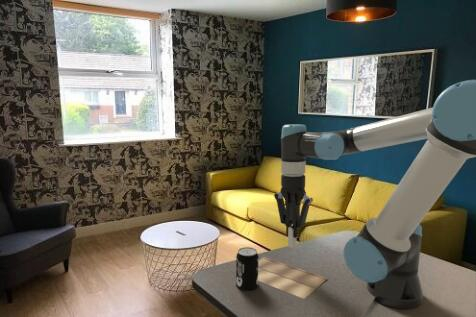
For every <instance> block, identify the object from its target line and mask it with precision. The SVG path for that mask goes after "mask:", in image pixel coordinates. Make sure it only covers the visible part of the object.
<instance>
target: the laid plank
mask: <svg viewBox="0 0 476 317" xmlns="http://www.w3.org/2000/svg"><path fill="white" fill-rule="evenodd" d="M258 282H260V283H263V284H265V285H268V286H270V287H272V288H276V289H278V290H281V291H283V292H285V293H288V294H289V295H293V296H296V297H297V298H300V299H303V300H305V299H307V297H309V296H310V295H311V294H312V293H314V292H315V291H316V290H317V289H316V288H313V287H310V286H307V285H305V284H302V283H299V282H296V281H294V280H291V279H288V278H286V277H283V276H280V275H277V274H275V273H272V272H269V271H266V270H264V269H261V268H258Z"/></svg>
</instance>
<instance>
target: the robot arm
mask: <svg viewBox="0 0 476 317" xmlns="http://www.w3.org/2000/svg"><path fill="white" fill-rule="evenodd" d="M280 136H281V137H280V145H281V146H280V148H281V159H280V160H281V162H280V173H281V176H280V186H281V187H280V191H279V192H277V193H274V195H273V197H274V200H275V201H276V205H277V211H278V215H279V220H280V223H281V224H283V225H285V229H286V230H285V235H286V236H287V237H288V238H287V247H288V248H291V249H294V248H295V247H296V246H297V238H299V237H300V230H299V229H300V228H302V227H304V226H306V221H307V218H308V213H309V210H310V205H311V204H312V203H313V201H314V198H313V197H309V196H308V195H307V192H306V175H305V174H306V164H307V163H306V162H307V161H306V159H307V158H314V159H320V160H324V161H328V160H329V161H330V160H333V161H335V160H338V159H339V158H340V157H341V156H346V155H353V154H357V153H361V152H365V151H370V150H375V149H380V148H381V149H382V148H385V147H390V146H396V145H401V144H406V143H412V142H418V141H421V140H426V141H425V143H424V145H423V146H422V148H421V150H420V151H419V153H418V154H417V155H416V156H415V158H414V160H413V161H412V163H411V165H410V166H409V167H408V169H407V171H406V172H405V174H404V175H403V177H402V178H401V179H400V181H399V183H398V184H397V186H396V187H395V189H394V190H393V192H392V193H391V195H390V197H389V199H388V200H387V201H386V203H385V204H384V205H383V208H382V209H381V211H379V214H377V216H376V217H371V218H368V219H367V220H366V222H365V224H364V225H363V226H362V228H361V229H360V231H359V233H358V234H357V235H356V236H353V237H351V238H350V239H349V240H348V241H347V242H345V244H344V246H343V259H344V260H345V265H346V266H347V268H348V269H349V271H350V272H351V273H352V275H353V276H355V277H356V278H357V279H358V280H361V281H362V282H366V289H367V292H369V294H370V295H371V296H373V297H374V299H373V300H374V301H375V302H378V303H380V304H382V305H384V306H387V307H390V308H395V309H404V310H405V309H406V310H407V309H408V310H410V309H416V308H417V307H419V306H421V305H422V303H423V298H424V292H423V289H422V284H421V280H420V276H419V266H420V259H421V258H420V256H421V248H422V247H421V246H422V237H423V234H422V233H423V227H422V225H421V224H420V223H422V221H423V219H424V218H425V217H426V215H427V214H428V213H429V212H430V211H431V208H432V207H433V206H434V205H435V203H437V200H438V199H439V197H441V195H442V194H443V192H444V191H445V190H446V189H447V187H448V186H449V184H451V181H452V180H453V179H454V178H455V176H456V175H457V174H458V172H459V171H460V169H461V168H462V167H463V165H464V164H465V162H466V161H467V160H469V159H471V158H476V79H468V80H464V81H460V82H456V83H454V84H452V85H450V86H448V87H447V88H446V89H444V90H443V91H442V92H441V93H439V95H438V96H437V98H436V99H435V101H434V104H433V106H432V107H429V108H426V109H422V110H418V111H413V112H411V113H406V114H403V115H399V116H395V117H390V118H386V119H383V120H379V121H375V122H371V123H367V124H364V125H359V126H356V127H351V128H347V129H344V130H343V129H342V130H337V131H336V130H334V131H324V132H313V131H312V132H311V131H308V130H307V125H305V124H293V123H291V124H284V125H283V126H282V128H281V135H280ZM302 203H303V204H302Z"/></svg>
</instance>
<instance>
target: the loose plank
mask: <svg viewBox="0 0 476 317" xmlns="http://www.w3.org/2000/svg"><path fill="white" fill-rule="evenodd" d="M258 268H260V269H263V270H265V271H268V272H271V273H274V274H276V275H279V276H282V277H284V278H287V279H290V280H293V281H295V282H298V283H301V284H304V285H306V286H309V287H312V288H314V289H316V290H317V289H318V288H319V287H321V286H322V284H324V283H325V282H326V281H327V280H328V278H327V277H324V276H321V275H318V274H314V273H313V272H309V271H306V270H303V269H301V268H297V267H295V266H291V265H289V264H287V263H283V262H281V261H277V260H274V259H271V258H268V257H265V256H262V257H261V258H259V259H258Z"/></svg>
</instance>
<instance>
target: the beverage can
mask: <svg viewBox="0 0 476 317" xmlns="http://www.w3.org/2000/svg"><path fill="white" fill-rule="evenodd" d="M259 257H260V256H259V254H258V250H257V249H256V248H254V247H247V246H246V247H241V248H239V249H237V254H236V259H235V260H236V261H235V263H236V264H235V265H236V266H235V270H236V272H235V287H236V288H237V289H238V290H241V291H244V292H250V291H251V292H252V291H254V290H256V289H257V288H258V287H259V281H258V260H260V258H259Z"/></svg>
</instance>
